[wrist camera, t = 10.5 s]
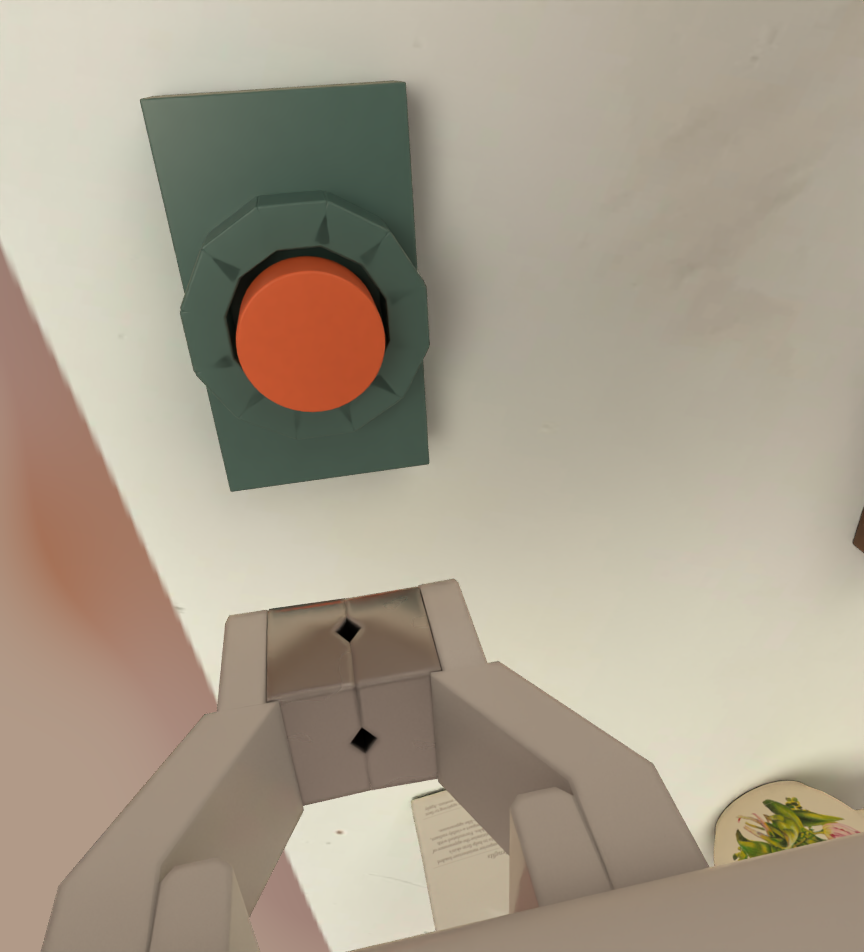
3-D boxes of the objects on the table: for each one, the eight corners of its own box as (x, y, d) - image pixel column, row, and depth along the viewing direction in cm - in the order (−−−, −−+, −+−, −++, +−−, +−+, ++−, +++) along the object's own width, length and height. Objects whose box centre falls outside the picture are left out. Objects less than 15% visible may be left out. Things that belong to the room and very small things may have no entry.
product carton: (428, 859, 41) (456, 1002, 35) (408, 796, 38) (435, 941, 32) (529, 830, 41) (574, 966, 35) (517, 765, 38) (565, 902, 32)
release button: (225, 263, 19) (221, 278, 18) (371, 248, 20) (378, 263, 18) (252, 397, 21) (250, 421, 20) (383, 380, 22) (391, 403, 20)
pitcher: (914, 791, 48) (1122, 1027, 36) (671, 903, 49) (795, 1166, 37) (901, 697, 42) (1143, 941, 30) (626, 826, 43) (756, 1109, 31)
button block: (151, 96, 20) (126, 101, 17) (394, 80, 21) (417, 82, 18) (233, 462, 26) (227, 520, 23) (419, 437, 27) (439, 490, 24)
